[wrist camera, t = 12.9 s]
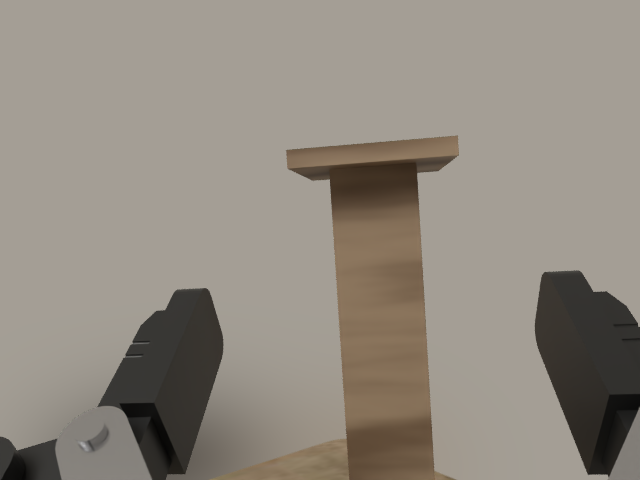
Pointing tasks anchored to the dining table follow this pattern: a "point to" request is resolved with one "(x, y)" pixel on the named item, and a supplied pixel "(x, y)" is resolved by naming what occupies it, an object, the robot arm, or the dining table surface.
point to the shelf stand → (381, 298)
